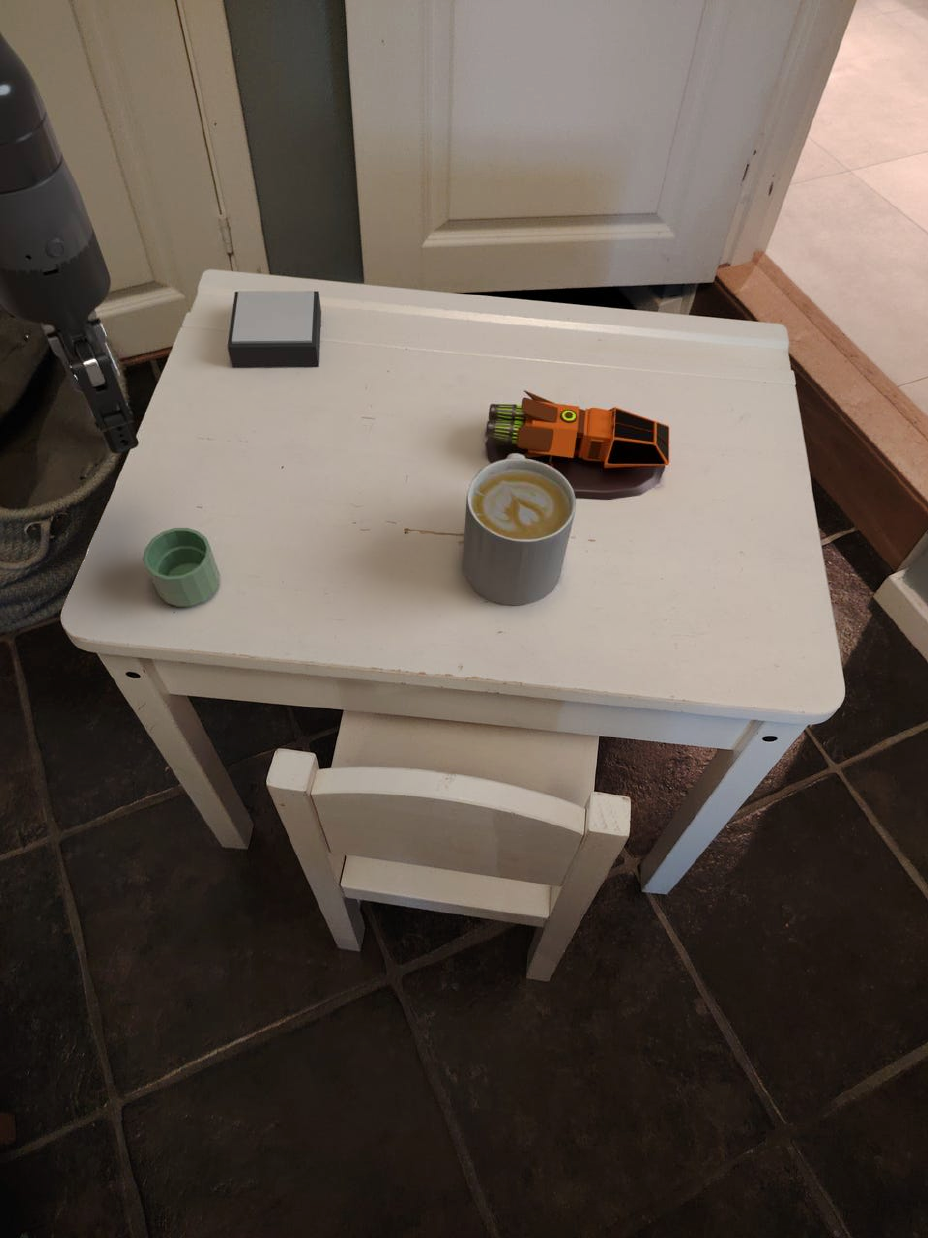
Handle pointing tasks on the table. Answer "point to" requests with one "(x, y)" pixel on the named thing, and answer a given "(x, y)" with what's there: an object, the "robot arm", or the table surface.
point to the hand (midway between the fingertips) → (109, 414)
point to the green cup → (182, 566)
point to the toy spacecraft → (582, 445)
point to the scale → (275, 329)
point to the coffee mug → (516, 530)
